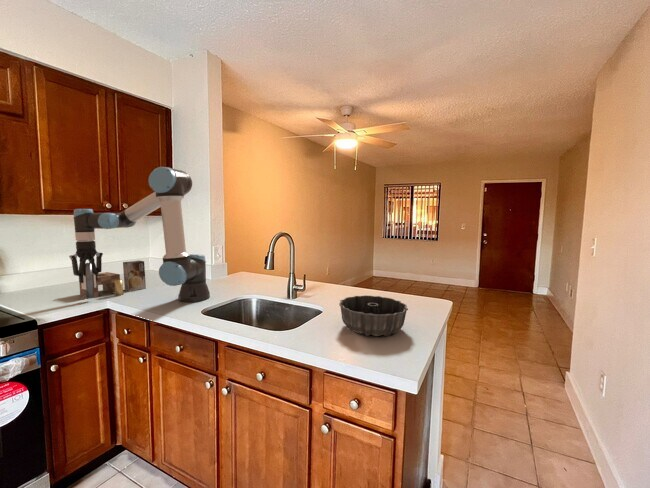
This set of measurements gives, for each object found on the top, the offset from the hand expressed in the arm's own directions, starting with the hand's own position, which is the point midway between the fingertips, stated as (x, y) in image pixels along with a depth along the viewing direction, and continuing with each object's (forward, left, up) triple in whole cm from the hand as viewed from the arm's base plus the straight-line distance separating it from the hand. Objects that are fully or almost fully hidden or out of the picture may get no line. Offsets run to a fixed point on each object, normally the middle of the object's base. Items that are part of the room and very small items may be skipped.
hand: (89, 288), depth 153 cm
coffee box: (+6, -26, -7) cm, 28 cm away
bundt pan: (-134, -36, -7) cm, 139 cm away
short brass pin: (0, -14, -7) cm, 15 cm away
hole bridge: (+12, -11, -7) cm, 18 cm away
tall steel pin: (0, 0, -5) cm, 5 cm away
